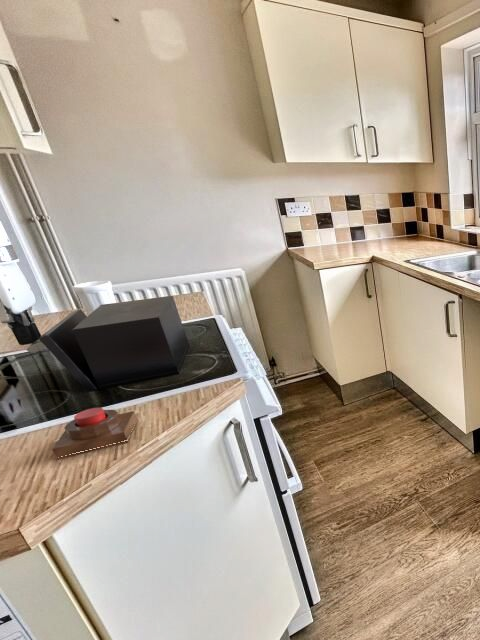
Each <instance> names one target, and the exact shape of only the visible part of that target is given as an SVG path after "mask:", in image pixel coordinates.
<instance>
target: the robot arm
mask: <svg viewBox="0 0 480 640" xmlns="http://www.w3.org/2000/svg"><path fill="white" fill-rule="evenodd" d="M19 262H20V259H19V256H18V254H17V253H16V250H15V247H14V246H13V244H12V241H11V240H10V237H9V236H8V234H7V231H6V229H5V227H4V225H3V223H2V220H0V323H2V324H6V325H7V327H8V328H9V329H11V332H12V334H13V336H14V337H15V340H16V341H17V343H18V344H19V345H20V346H25V345H31V344H32V343H34V342H35V341H36V340H38V338H39V337H41V336H42V334H41V331H40V330H39V327H38V326H37V323H36V322H35V318H34V315H33V313H32V310H33V306H34V305H36V301H37V300H36V297H35V294H34V292H33V289H32V288H31V286H30V284H29V282H28V280H27V278H26V276H25V274H24V273H23V271H22V269H21V268H20V267H19V265H18V263H19Z"/></svg>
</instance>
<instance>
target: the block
mask: <svg viewBox="0 0 480 640" xmlns="http://www.w3.org/2000/svg"><path fill="white" fill-rule="evenodd" d="M103 411H104V413H105V415H106V417H107V418H106V419H104V420H102V421H101V422H98V423H95V424H93V425H88V426H84V427H79V426H78V425H77V423H76V421H75V419H74V418H73V420H71V421H69V422H67V424H66V425H65V426H64V432H63V433H62V434H61V436H60V437H59V438H58V440H57V441H56V443H55V444H54V445H53V447H52V448H51V451H52V453H53V454H54V456H55V458H56V460H57V461H60V460H63V459H68V458H72V457H76V456H81V455H84V454H88V453H92V452H97V451H100V450H104V449H109V448H113V447H116V446H117V447H118V446H121V445H124V444H125V445H126V444H129V442H130V441H131V438H132V436H133V434H134V431H135V429H136V427H137V425H138V423H139V419H138V417H137V414H136V412H135V410H132V411H128V412H123V413H119V412H118V411H116V410H115V409H103ZM136 421H137V422H136ZM135 423H136V424H135ZM134 425H135V426H134ZM133 427H134V428H133ZM132 429H133V430H132ZM131 431H132V432H131ZM129 435H130V437H129ZM128 437H129V439H128ZM127 439H128V441H125V442H121V441H124V440H127ZM118 442H120V443H118ZM113 443H116V444H113ZM109 444H112V445H109ZM106 445H108V446H106ZM101 446H104V447H101ZM97 447H100V448H97ZM93 448H96V449H93ZM89 449H92V450H89ZM85 450H88V451H85ZM80 451H84V452H80ZM76 452H80V453H76ZM72 453H76V454H72ZM69 454H71V455H69ZM65 455H67V456H65ZM61 456H63V457H61ZM58 457H59V458H58Z"/></svg>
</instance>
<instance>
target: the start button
mask: <svg viewBox="0 0 480 640" xmlns="http://www.w3.org/2000/svg"><path fill="white" fill-rule="evenodd" d="M103 410H104V409H103V408H102V407H92V408H88V409H84V410H82V411H80V412H78V413H77V414H75V415H74V418H73V420H74V419H75V421H76V423H77V425H78V426H79V427H84V426H88V425H93V424H95V423H98V422H101V421H102V420H104V419H106V418H107V417H106V415H105V413H104V411H103Z"/></svg>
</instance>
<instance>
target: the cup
mask: <svg viewBox="0 0 480 640" xmlns="http://www.w3.org/2000/svg"><path fill="white" fill-rule="evenodd" d="M72 288H73V290H74V292H75V293H76V294H77V296H78V298H79V300H80V302H81V304H82V306H83V308H84V310H85V312H86V315H87V316H89V315H90V314H91V313H92V312H93V311H94V310H96V309H97V308H98V307H99V306H100V305H103V304H111V303H117V300H116V297H115V294H114V291H113V285H112V281H110V280H93V281H86V282H82V283H78V284H74V285H73V286H72Z"/></svg>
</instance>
